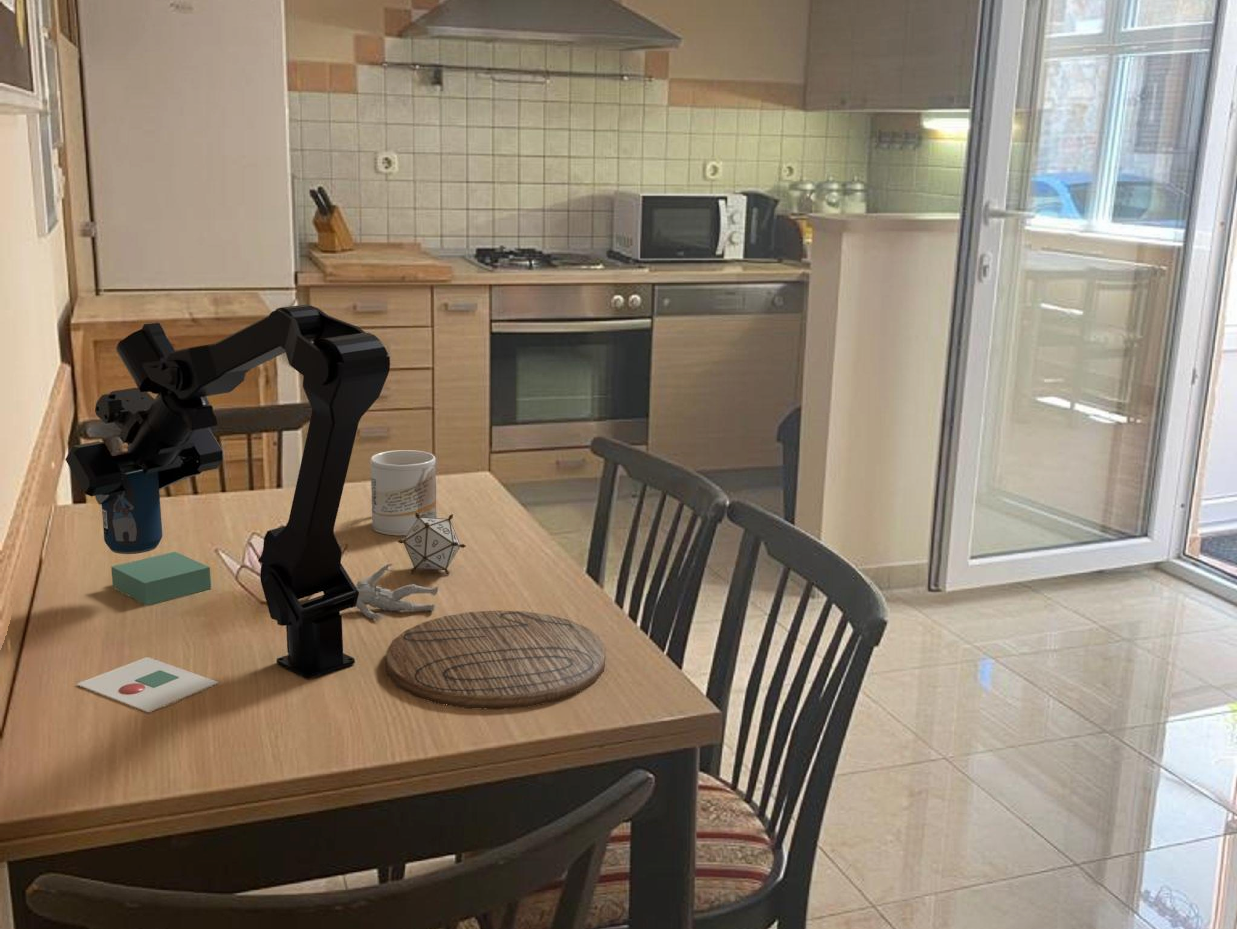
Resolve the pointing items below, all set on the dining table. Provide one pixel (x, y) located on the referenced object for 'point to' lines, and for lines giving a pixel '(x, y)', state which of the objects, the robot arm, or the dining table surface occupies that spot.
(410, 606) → the soldier figure
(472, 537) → the dining table surface
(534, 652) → the trivet
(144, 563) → the base brick
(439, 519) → the game die
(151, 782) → the dining table surface
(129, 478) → the soda can
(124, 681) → the page
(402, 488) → the mug
